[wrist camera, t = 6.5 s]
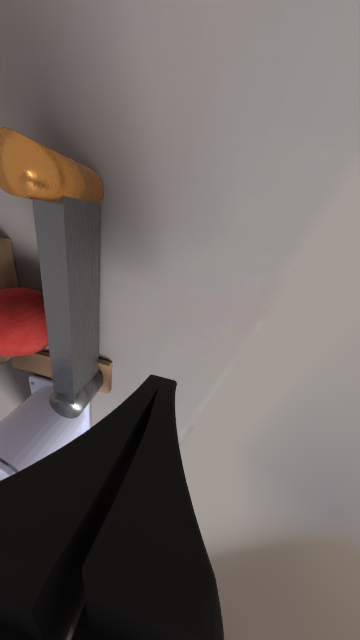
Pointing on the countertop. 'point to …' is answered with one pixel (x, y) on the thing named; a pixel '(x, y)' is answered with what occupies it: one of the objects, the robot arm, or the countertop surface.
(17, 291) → the onion
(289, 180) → the countertop surface
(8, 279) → the bench
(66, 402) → the lever
